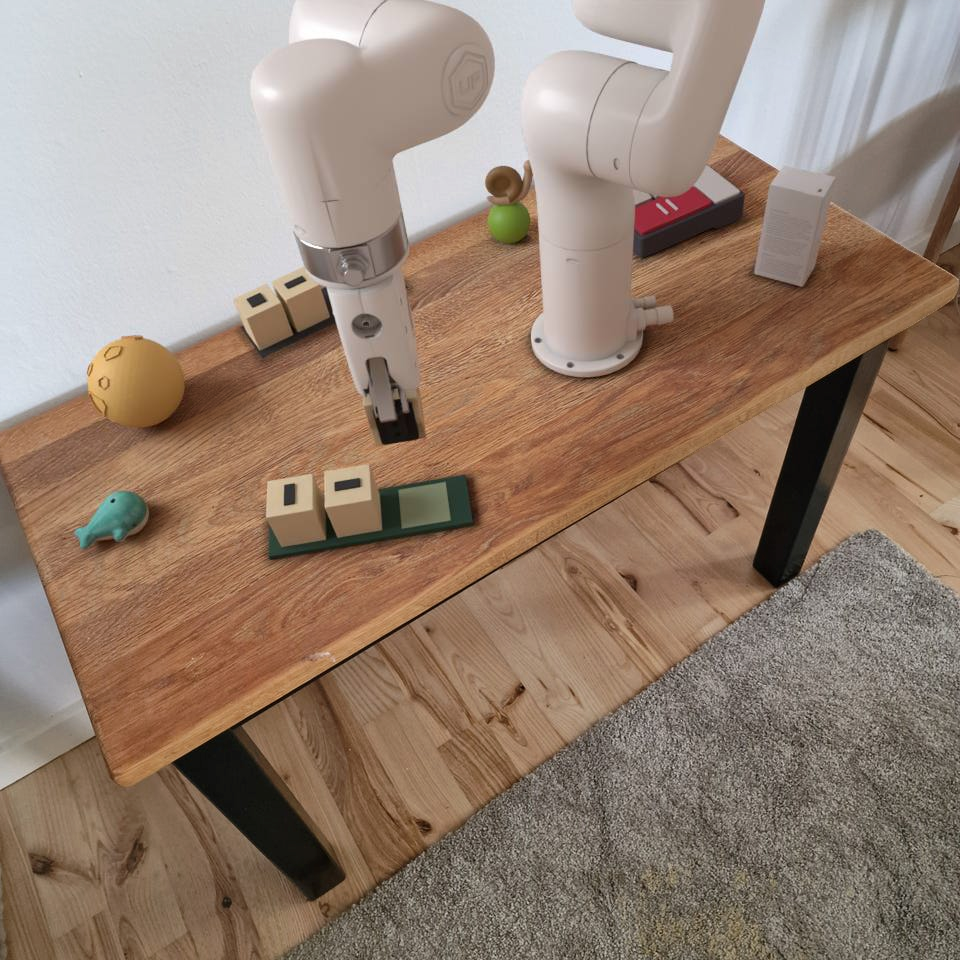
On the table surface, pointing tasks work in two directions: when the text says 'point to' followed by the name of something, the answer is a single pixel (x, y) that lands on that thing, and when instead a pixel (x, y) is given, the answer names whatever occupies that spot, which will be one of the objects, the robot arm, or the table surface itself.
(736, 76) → the robot arm
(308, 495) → the mat
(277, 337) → the far word mat
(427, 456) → the table surface
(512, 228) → the snail figurine
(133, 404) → the stress ball
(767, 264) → the cosmetic box
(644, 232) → the calculator
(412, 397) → the tile
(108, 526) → the whale figurine
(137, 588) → the table surface
